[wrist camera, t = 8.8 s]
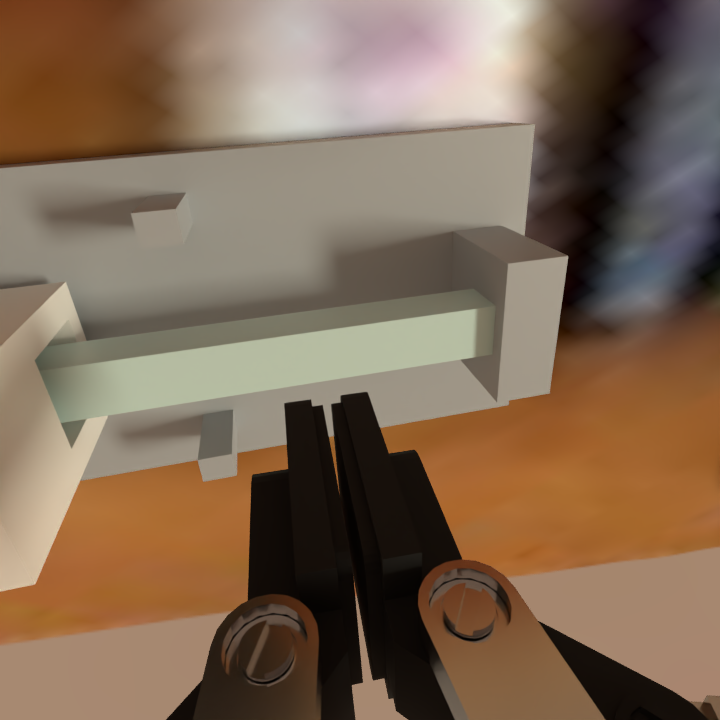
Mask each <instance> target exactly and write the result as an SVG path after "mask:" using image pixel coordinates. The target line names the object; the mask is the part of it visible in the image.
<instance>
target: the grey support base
mask: <svg viewBox="0 0 720 720" xmlns="http://www.w3.org/2000/svg"><path fill="white" fill-rule="evenodd" d="M534 128H535V124H522V123H509V124H497V125H485V126H472V127H460V128H448V129H436V130H423V131H411V132H399V133H386V134H374V135H362V136H350V137H337V138H325V139H313V140H300V141H288V142H276V143H264V144H251V145H239V146H227V147H214V148H202V149H190V150H178V151H165V152H153V153H141V154H128V155H116V156H104V157H92V158H79V159H67V160H55V161H42V162H30V163H18V164H6V165H0V289H7V288H16V287H24V286H33V285H41V284H50V283H58V282H66V284H67V286H68V289H69V292H70V295H71V298H72V301H73V303H74V306H75V309H76V312H77V315H78V318H79V320H80V323H81V326H82V329H83V332H84V335H85V337H86V340H87V341H90V340H97V339H105V338H112V337H120V336H127V335H134V334H142V333H149V332H156V331H164V330H171V329H179V328H186V327H193V326H201V325H208V324H215V323H223V322H230V321H238V320H245V319H252V318H260V317H267V316H274V315H282V314H289V313H297V312H304V311H311V310H319V309H326V308H333V307H341V306H348V305H356V304H363V303H370V302H378V301H385V300H393V299H400V298H407V297H415V296H422V295H429V294H437V293H444V292H452V291H459V290H466V289H475V290H476V291H477V292H479V293H480V294H481V295H483V296H484V297H485V298H486V299H488V300H489V301H490V302H491V303H493V304H494V305H495V306H496V311H495V325H494V339H493V353H492V355H486V356H480V357H474V358H468V359H461V360H455V361H449V362H442V363H436V364H430V365H423V366H417V367H411V368H405V369H398V370H392V371H386V372H379V373H373V374H367V375H360V376H354V377H348V378H341V379H335V380H329V381H323V382H316V383H310V384H304V385H297V386H291V387H285V388H278V389H272V390H266V391H260V392H253V393H247V394H241V395H234V396H228V397H222V398H215V399H209V400H203V401H196V402H190V403H184V404H178V405H171V406H165V407H159V408H152V409H146V410H140V411H133V412H127V413H121V414H114V415H108V417H107V420H106V422H105V424H104V427H103V429H102V431H101V433H100V436H99V438H98V440H97V443H96V445H95V447H94V450H93V452H92V454H91V457H90V459H89V461H88V463H87V466H86V468H85V470H84V473H83V475H82V477H81V480H87V479H93V478H98V477H104V476H110V475H115V474H121V473H127V472H132V471H138V470H144V469H149V468H155V467H161V466H166V465H172V464H178V463H183V462H189V461H195V460H198V463H199V467H200V471H201V474H202V478H203V482H204V481H210V480H215V479H221V478H226V477H232V476H237V453H240V452H246V451H251V450H257V449H263V448H268V447H274V446H280V445H285V444H287V440H286V424H285V409H284V403H288V402H295V401H302V400H310V399H311V402H312V406H319V405H323V409H324V414H325V420H326V425H327V430H328V436H329V437H331V436H334V431H333V421H332V411H331V404H333V403H340V402H341V401H340V396H341V395H346V394H353V393H361V392H368V394H369V397H370V400H371V403H372V406H373V409H374V412H375V415H376V418H377V421H378V424H379V427H380V428H381V427H387V426H393V425H398V424H404V423H410V422H415V421H421V420H427V419H432V418H438V417H444V416H449V415H455V414H461V413H466V412H472V411H478V410H483V409H489V408H495V407H500V406H506V405H509V400H514V399H520V398H526V397H532V396H537V395H543V394H549V392H550V385H551V378H552V371H553V363H554V356H555V349H556V341H557V334H558V327H559V320H560V312H561V305H562V298H563V290H564V283H565V276H566V269H567V261H568V256H567V255H565V254H563V253H561V252H558V251H556V250H554V249H552V248H550V247H548V246H545V245H543V244H541V243H539V242H537V241H534V240H532V239H530V238H528V237H526V236H524V235H525V224H526V214H527V203H528V192H529V182H530V171H531V160H532V150H533V139H534ZM81 480H80V481H81Z"/></svg>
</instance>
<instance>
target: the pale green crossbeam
mask: <svg viewBox="0 0 720 720" xmlns="http://www.w3.org/2000/svg"><path fill="white" fill-rule="evenodd" d="M495 311H496V306H495V305H494V304H493V303H491V302H490V301H489V300H488V299H486V298H485V297H484V296H483V295H481V294H480V293H479V292H477V291H476V290H475V289H466V290H459V291H452V292H444V293H437V294H429V295H422V296H415V297H407V298H400V299H393V300H385V301H378V302H370V303H363V304H356V305H348V306H341V307H333V308H326V309H319V310H311V311H304V312H297V313H289V314H282V315H274V316H267V317H260V318H252V319H245V320H238V321H230V322H223V323H215V324H208V325H201V326H193V327H186V328H179V329H171V330H164V331H156V332H149V333H142V334H134V335H127V336H120V337H112V338H105V339H97V340H90V341H83V342H75V343H68V344H61V345H53V346H46V347H45V348H44V350H43V351H42V352H41V353H40V354H39V356H38V357H37V358H36V359H35V362H36V365H37V367H38V370H39V372H40V374H41V377H42V379H43V382H44V384H45V386H46V389H47V391H48V394H49V396H50V398H51V401H52V403H53V406H54V408H55V410H56V413H57V415H58V418H59V420H60V422H61V423H64V422H70V421H77V420H83V419H89V418H96V417H102V416H108V415H114V414H121V413H127V412H133V411H140V410H146V409H152V408H159V407H165V406H171V405H178V404H184V403H190V402H196V401H203V400H209V399H215V398H222V397H228V396H234V395H241V394H247V393H253V392H260V391H266V390H272V389H278V388H285V387H291V386H297V385H304V384H310V383H316V382H323V381H329V380H335V379H341V378H348V377H354V376H360V375H367V374H373V373H379V372H386V371H392V370H398V369H405V368H411V367H417V366H423V365H430V364H436V363H442V362H449V361H455V360H461V359H468V358H474V357H480V356H486V355H492V353H493V339H494V325H495Z"/></svg>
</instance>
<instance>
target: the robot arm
mask: <svg viewBox="0 0 720 720" xmlns="http://www.w3.org/2000/svg"><path fill="white" fill-rule="evenodd" d="M340 401H341V402H340V403H333V404H331V411H332V421H333V431H334V441H335V451H336V462H337V472H338V482H339V490H338V484H337V479H336V474H335V468H334V463H333V457H332V452H331V447H330V441H329V436H328V430H327V425H326V420H325V414H324V409H323V405H319V406H312V402H311V399H310V400H302V401H295V402H288V403H284V409H285V424H286V440H287V455H288V469H286V470H280V471H273V472H267V473H260V474H254V475H253V476H252V482H251V513H250V546H249V579H248V601H247V602H245V603H243V604H241V605H240V606H238V607H237V608H236V609H235V610H234V611H232V612H231V613H230V614H229V615H228V616H227V617H226V618H225V620H224V621H223V622H222V624H221V625H220V626H219V628H218V629H217V631H216V634H215V636H214V639H213V641H212V644H211V647H210V651H209V655H208V659H207V664H206V667H205V672H204V675H203V680H202V681H201V682H200V683H199V684H198V685H197V686H196V688H195V689H194V690H193V691H192V692H191V693H190V694H189V695H188V697H186V698H185V700H184V701H183V702H182V703H181V704H180V705H179V706H178V707H177V708H176V710H175V711H174V712H173V713H172V714H171V715H170V716H169V717H168V718H167V719H166V720H355V712H354V704H353V694H352V685H354V684H358V683H363V679H362V669H361V668H362V667H361V656H360V645H359V635H358V623H357V612H356V601H355V589H354V582H355V587H356V593H357V598H358V604H359V609H360V615H361V620H362V625H363V631H364V636H365V642H366V647H367V653H368V658H369V664H370V669H371V674H372V679H373V680H378V679H382V678H385V683H386V688H387V693H388V698H389V699H391V698H393V699H394V703H395V707H396V711H397V712H399V713H400V714H401V715H403V716H404V717H405V718H407V719H408V720H720V696H706V698H705V700H704V702H689V701H687V700H686V699H684V698H682V697H681V696H680V695H678V694H676V693H675V692H673V691H671V690H670V689H668V688H666V687H664V686H662V685H660V684H658V683H656V682H654V681H652V680H650V679H648V678H647V677H645V676H643V675H641V674H639V673H637V672H635V671H633V670H631V669H629V668H627V667H625V666H624V665H622V664H620V663H618V662H616V661H614V660H612V659H610V658H608V657H606V656H605V655H602V654H601V653H599V652H597V651H595V650H593V649H591V648H589V647H587V646H585V645H583V644H582V643H580V642H578V641H576V640H574V639H572V638H570V637H568V636H566V635H564V634H562V633H560V632H559V631H557V630H555V629H553V628H551V627H549V626H547V625H545V624H543V623H541V622H539V621H538V620H537V619H536V618H535V616H534V615H533V613H532V612H531V610H530V609H529V607H528V606H527V605H526V603H525V602H524V600H523V599H522V597H521V596H520V594H519V593H518V591H517V590H516V588H515V587H514V586H513V585H512V584H511V583H510V581H509V580H508V579H507V578H506V577H505V576H504V575H503V574H502V573H500V572H498V571H497V570H495V569H494V568H492V567H491V566H489V565H486V564H483V563H480V562H477V561H471V560H462V557H461V555H460V553H459V550H458V548H457V545H456V543H455V541H454V538H453V536H452V534H451V531H450V529H449V526H448V524H447V522H446V519H445V517H444V514H443V512H442V510H441V507H440V505H439V503H438V500H437V498H436V495H435V493H434V491H433V488H432V486H431V483H430V481H429V479H428V476H427V474H426V472H425V469H424V467H423V464H422V462H421V460H420V457H419V455H418V453H417V452H416V451H415V450H410V451H403V452H397V453H390V454H389V453H388V450H387V447H386V444H385V441H384V438H383V436H382V433H381V430H380V427H379V424H378V421H377V418H376V415H375V412H374V409H373V406H372V403H371V400H370V397H369V394H368V392H361V393H353V394H346V395H341V396H340ZM339 492H340V495H339ZM353 576H354V578H353Z"/></svg>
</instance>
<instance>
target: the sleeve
mask: <svg viewBox="0 0 720 720" xmlns="http://www.w3.org/2000/svg"><path fill="white" fill-rule="evenodd" d="M83 341H87V340H86V337H85V335H84V332H83V329H82V326H81V323H80V320H79V318H78V315H77V312H76V309H75V306H74V303H73V301H72V298H71V295H70V292H69V289H68V286H67V284H66V282H58V283H50V284H41V285H33V286H24V287H16V288H7V289H0V591H5V590H10V589H15V588H20V587H25V586H29V585H34V584H35V583H36V581H37V579H38V576H39V574H40V572H41V570H42V567H43V565H44V563H45V560H46V558H47V556H48V553H49V551H50V549H51V546H52V544H53V542H54V540H55V537H56V535H57V533H58V530H59V528H60V526H61V523H62V521H63V519H64V516H65V514H66V512H67V510H68V507H69V505H70V503H71V500H72V498H73V496H74V493H75V491H76V489H77V486H78V484H79V482H80V480H81V477H82V475H83V473H84V470H85V468H86V466H87V463H88V461H89V459H90V457H91V454H92V452H93V450H94V447H95V445H96V443H97V440H98V438H99V436H100V433H101V431H102V429H103V427H104V424H105V422H106V420H107V417H108V416H102V417H96V418H89V419H83V420H77V421H70V422H64V423H61V422H60V420H59V418H58V415H57V413H56V410H55V408H54V406H53V403H52V401H51V398H50V396H49V394H48V391H47V389H46V386H45V384H44V382H43V379H42V377H41V374H40V372H39V370H38V367H37V365H36V362H35V359H36V358H37V357H38V356H39V354H40V353H41V352H42V351H43V350H44V348H45V347H46V346H53V345H61V344H68V343H75V342H83Z"/></svg>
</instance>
